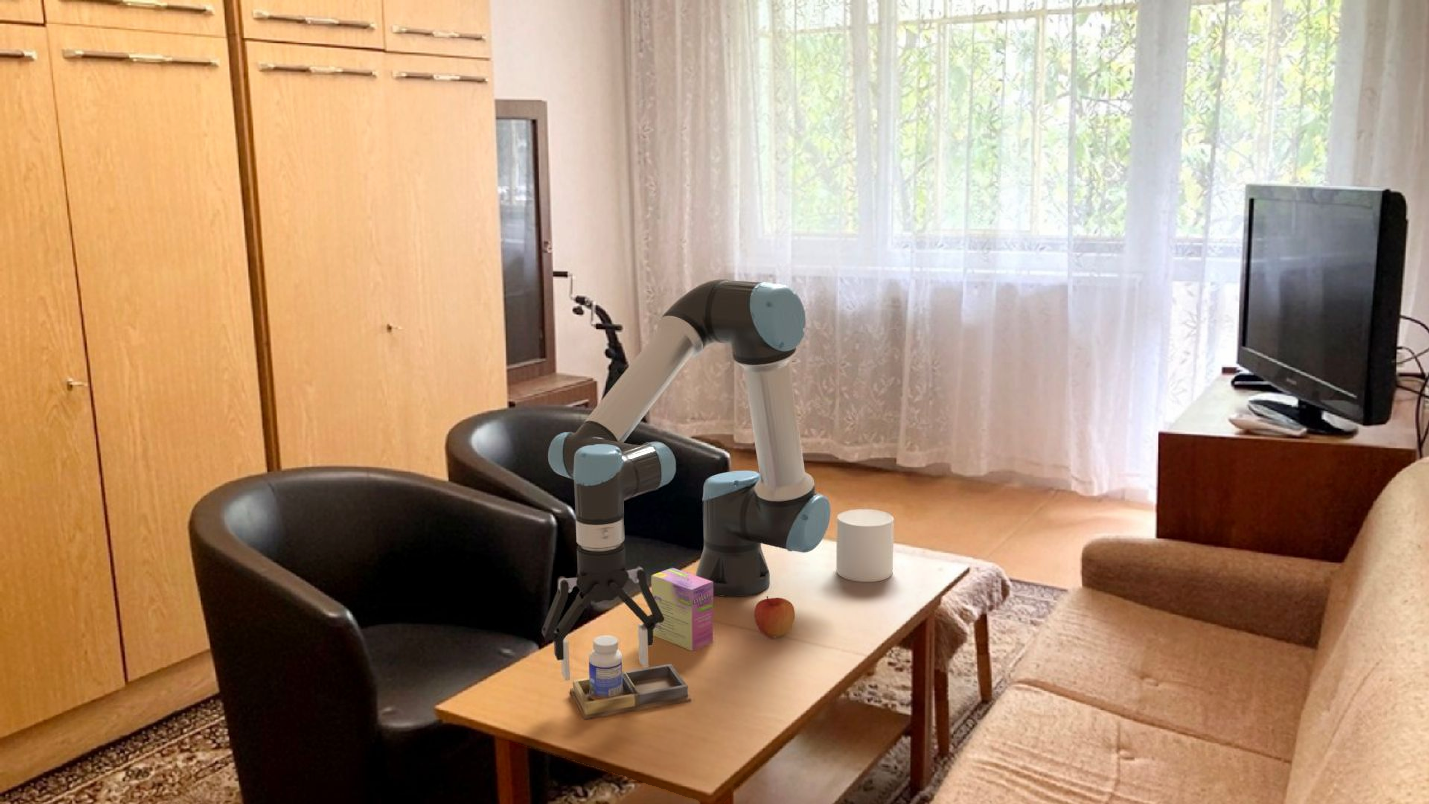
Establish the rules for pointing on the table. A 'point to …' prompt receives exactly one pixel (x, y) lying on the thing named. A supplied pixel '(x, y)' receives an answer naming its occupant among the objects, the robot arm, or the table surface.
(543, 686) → the table surface
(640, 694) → the two-compartment tray
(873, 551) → the cup
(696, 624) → the box
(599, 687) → the pill bottle
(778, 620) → the apple
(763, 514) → the robot arm
